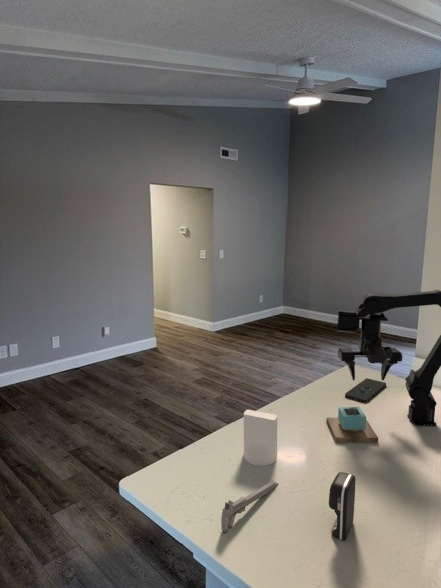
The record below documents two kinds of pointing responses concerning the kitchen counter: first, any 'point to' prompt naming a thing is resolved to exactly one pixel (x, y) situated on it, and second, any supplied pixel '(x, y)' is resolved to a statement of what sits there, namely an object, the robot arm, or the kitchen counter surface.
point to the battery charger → (342, 503)
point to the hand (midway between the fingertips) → (367, 380)
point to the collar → (352, 419)
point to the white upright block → (260, 437)
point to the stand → (351, 431)
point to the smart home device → (365, 390)
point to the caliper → (242, 505)
